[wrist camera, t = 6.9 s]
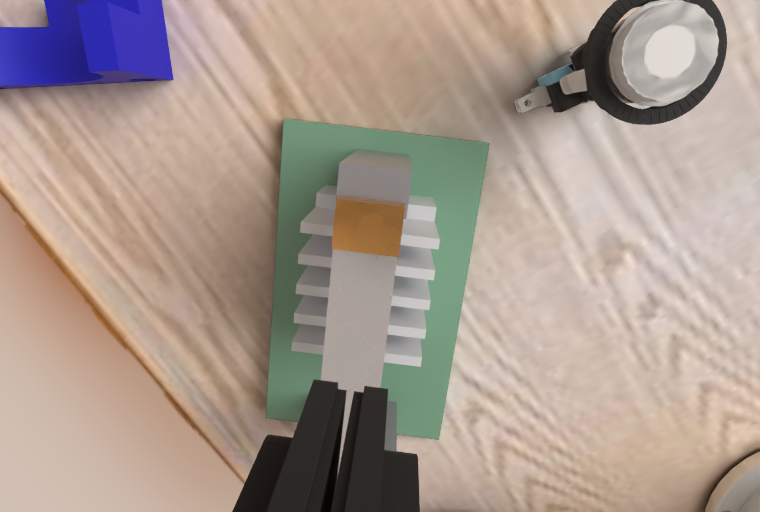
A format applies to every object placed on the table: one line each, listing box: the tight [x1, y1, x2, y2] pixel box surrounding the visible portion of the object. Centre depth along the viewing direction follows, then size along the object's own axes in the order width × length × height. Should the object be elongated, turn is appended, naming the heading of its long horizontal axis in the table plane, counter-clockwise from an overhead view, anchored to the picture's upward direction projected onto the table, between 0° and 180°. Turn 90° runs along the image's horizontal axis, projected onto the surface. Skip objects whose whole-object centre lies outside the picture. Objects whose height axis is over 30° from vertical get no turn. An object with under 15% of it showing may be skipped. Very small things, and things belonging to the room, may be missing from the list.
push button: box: [514, 0, 727, 125], centre depth 24 cm, size 7×5×10 cm
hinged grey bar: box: [321, 195, 405, 477], centre depth 22 cm, size 3×17×1 cm, turn 174°
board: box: [266, 119, 490, 451], centre depth 26 cm, size 12×20×12 cm, turn 173°
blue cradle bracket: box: [0, 0, 173, 89], centre depth 26 cm, size 12×4×6 cm, turn 93°
